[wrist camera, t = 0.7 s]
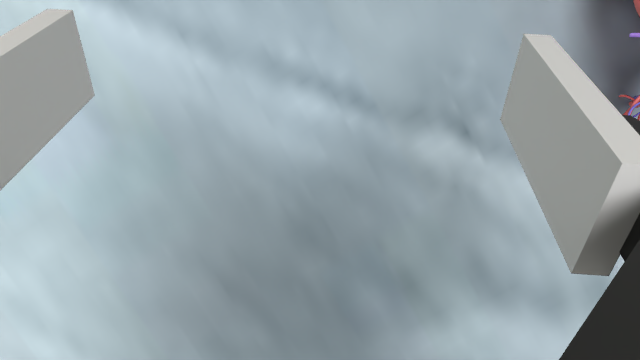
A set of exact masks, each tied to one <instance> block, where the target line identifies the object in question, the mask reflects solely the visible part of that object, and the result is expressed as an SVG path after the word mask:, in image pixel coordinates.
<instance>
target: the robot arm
mask: <svg viewBox="0 0 640 360" xmlns="http://www.w3.org/2000/svg"><path fill="white" fill-rule="evenodd" d="M94 96H95V94H94V91H93V87H92V83H91V79H90V75H89V71H88V67H87V64H86V60H85V56H84V52H83V48H82V44H81V40H80V37H79V33H78V29H77V25H76V21H75V17H74V14H73V10H58V9H46V10H45V11H43V12H41V13H40V14H38V15H36V16H34V17H33V18H31V19H29V20H28V21H26V22H24V23H22V24H21V25H19V26H17V27H16V28H14V29H12V30H10V31H9V32H7V33H5V34H4V35H2V36H0V190H1V189H2V188H3V187H4V186H5V185H6V184H7V183H8V182H9V181H10V180H11V179H12V178H13V177H14V176H15V175H16V174H17V173H18V172H19V171H20V170H21V169H22V168H23V167H24V166H25V165H26V164H27V163H28V162H29V161H30V160H31V159H32V158H33V157H34V156H35V155H36V154H37V153H38V152H39V151H40V150H41V149H42V148H43V147H44V146H45V145H46V144H47V143H48V142H49V141H50V140H51V139H52V138H53V137H54V136H55V135H56V134H57V133H58V132H59V131H60V130H61V129H62V128H63V127H64V126H65V125H66V124H67V123H68V122H69V121H70V120H71V119H72V118H73V117H74V116H75V115H76V114H77V113H78V112H79V111H80V110H81V109H82V108H83V107H84V106H85V105H86V104H87V103H88V102H89V101H90V100H91V99H92V98H93V97H94ZM500 120H501V122H502V124H503V127H504V129H505V131H506V133H507V135H508V137H509V139H510V142H511V144H512V146H513V148H514V150H515V152H516V155H517V157H518V159H519V161H520V163H521V165H522V168H523V170H524V172H525V174H526V176H527V178H528V181H529V183H530V185H531V187H532V189H533V191H534V194H535V196H536V198H537V200H538V202H539V204H540V207H541V209H542V211H543V213H544V215H545V217H546V220H547V222H548V224H549V226H550V228H551V230H552V233H553V235H554V237H555V239H556V241H557V243H558V246H559V248H560V250H561V252H562V254H563V256H564V259H565V261H566V263H567V265H568V267H569V269H570V272H571V273H573V274H587V275H601V276H609V275H610V273H611V271H612V269H613V267H614V265H615V263H616V262H617V260H618V258H619V256H620V254H621V256H622V257H623V259H624V261H625V262H624V264H623V265H622V267H621V268H620V270H619V271H618V273H617V274H616V276H615V277H614V279H613V280H612V282H611V283H610V285H609V286H608V288H607V289H606V291H605V292H604V294H603V295H602V297H601V298H600V300H599V301H598V302H597V304H596V305H595V307H594V308H593V310H592V311H591V313H590V314H589V316H588V317H587V319H586V320H585V322H584V323H583V325H582V326H581V328H580V329H579V331H578V332H577V334H576V335H575V337H574V338H573V340H572V341H571V343H570V344H569V346H568V347H567V349H566V350H565V352H564V353H563V355H562V356H561V358H560V359H559V360H640V121H639V120H637V119H636V118H634V117H632V116H630V115H621V114H620V113H619V111H618V110H617V109H616V108H615V107H614V106H613V105H612V104H611V102H610V101H609V100H608V99H607V98H606V97H605V96H604V95H603V93H602V92H601V91H600V90H599V89H598V88H597V87H596V85H595V84H594V83H593V82H592V81H591V80H590V79H589V78H588V76H587V75H586V74H585V73H584V72H583V71H582V70H581V69H580V67H579V66H578V65H577V64H576V63H575V62H574V61H573V60H572V58H571V57H570V56H569V55H568V54H567V53H566V52H565V50H564V49H563V48H562V47H561V46H560V45H559V44H558V43H557V41H556V40H555V39H554V38H553V37H552V36H551V35H536V34H523V38H522V42H521V45H520V49H519V53H518V56H517V60H516V64H515V67H514V71H513V75H512V78H511V82H510V86H509V89H508V93H507V97H506V100H505V104H504V108H503V111H502V115H501V119H500Z"/></svg>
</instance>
